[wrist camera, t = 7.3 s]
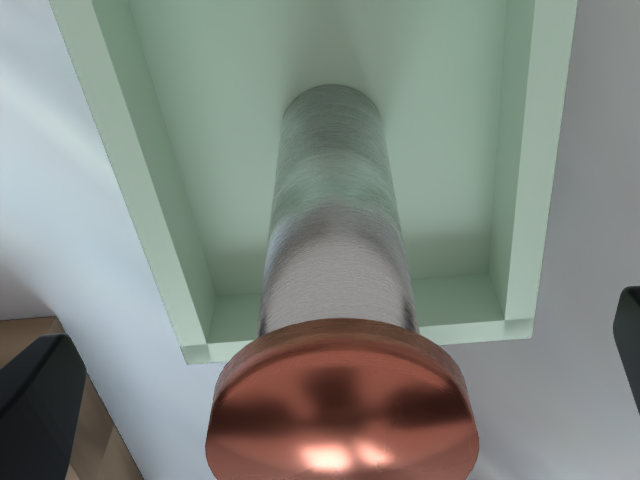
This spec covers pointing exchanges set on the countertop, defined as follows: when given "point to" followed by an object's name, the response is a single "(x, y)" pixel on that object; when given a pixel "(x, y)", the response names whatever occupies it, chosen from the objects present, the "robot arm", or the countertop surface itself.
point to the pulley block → (94, 421)
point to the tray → (265, 127)
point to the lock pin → (338, 324)
